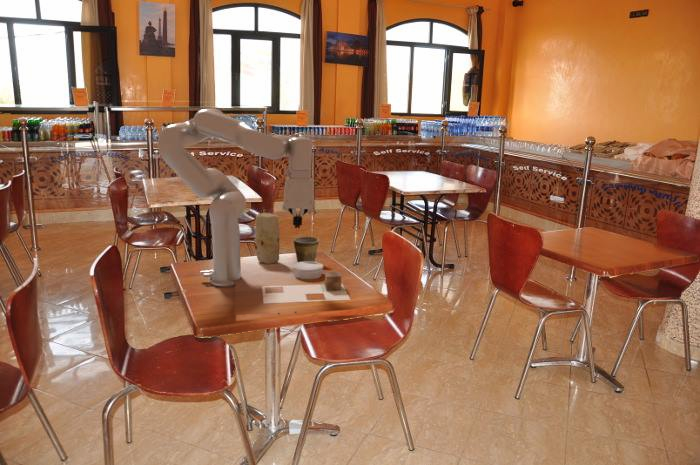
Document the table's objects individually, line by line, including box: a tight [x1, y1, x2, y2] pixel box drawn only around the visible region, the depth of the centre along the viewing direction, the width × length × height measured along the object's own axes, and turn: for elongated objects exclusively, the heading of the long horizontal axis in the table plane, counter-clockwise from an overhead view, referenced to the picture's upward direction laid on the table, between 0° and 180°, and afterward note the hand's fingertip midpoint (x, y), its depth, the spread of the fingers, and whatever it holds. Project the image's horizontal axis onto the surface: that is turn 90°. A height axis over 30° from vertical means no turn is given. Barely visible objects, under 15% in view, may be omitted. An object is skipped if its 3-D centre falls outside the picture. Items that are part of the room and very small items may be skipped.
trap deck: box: [261, 283, 351, 304], centre depth 189 cm, size 28×16×2 cm, turn 100°
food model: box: [254, 212, 281, 265], centre depth 224 cm, size 10×7×20 cm
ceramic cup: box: [293, 236, 320, 263], centre depth 226 cm, size 13×10×10 cm
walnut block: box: [324, 271, 342, 291], centre depth 194 cm, size 5×5×5 cm
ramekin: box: [292, 261, 324, 280], centre depth 208 cm, size 11×11×5 cm
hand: (297, 227), depth 195 cm, fingers closed
